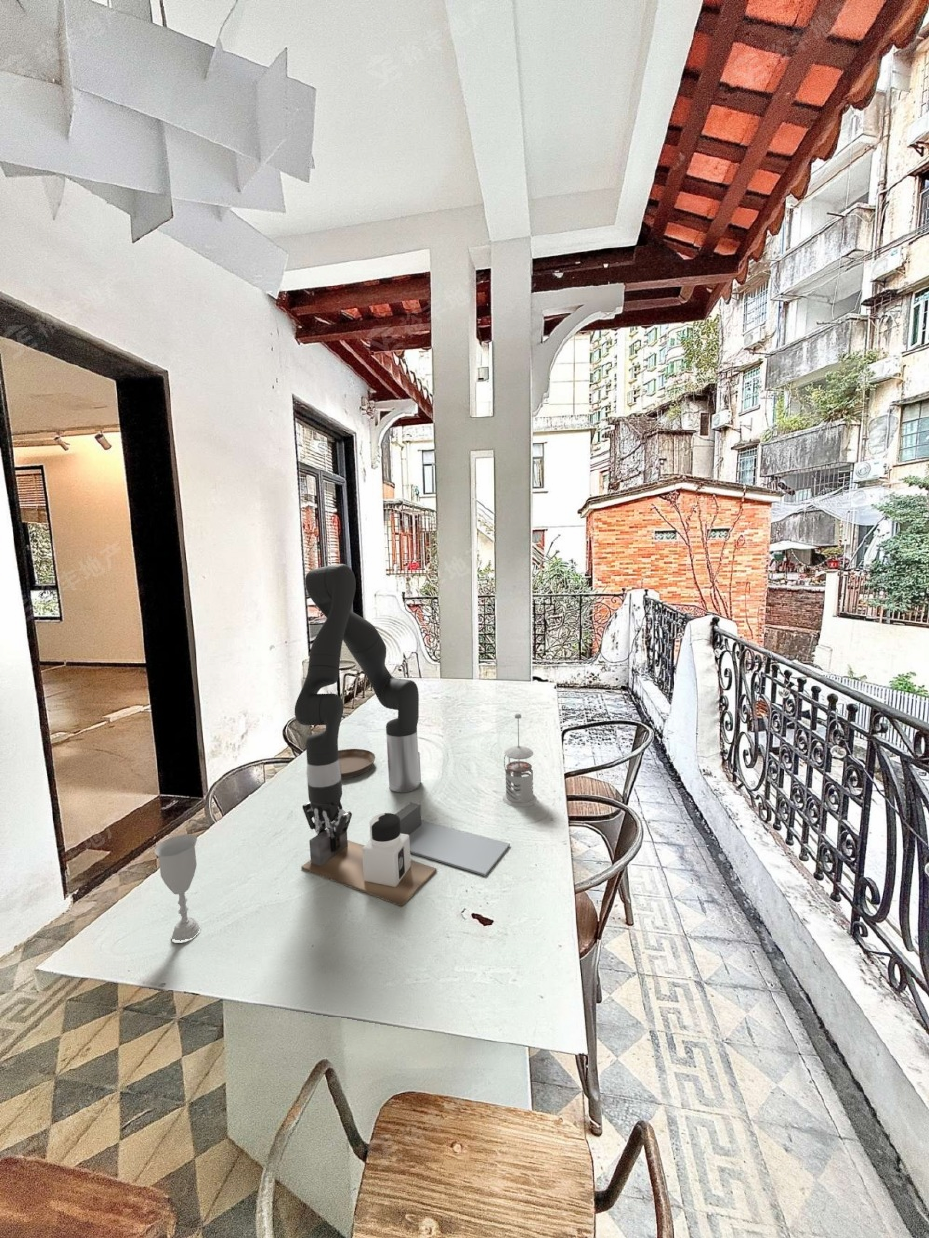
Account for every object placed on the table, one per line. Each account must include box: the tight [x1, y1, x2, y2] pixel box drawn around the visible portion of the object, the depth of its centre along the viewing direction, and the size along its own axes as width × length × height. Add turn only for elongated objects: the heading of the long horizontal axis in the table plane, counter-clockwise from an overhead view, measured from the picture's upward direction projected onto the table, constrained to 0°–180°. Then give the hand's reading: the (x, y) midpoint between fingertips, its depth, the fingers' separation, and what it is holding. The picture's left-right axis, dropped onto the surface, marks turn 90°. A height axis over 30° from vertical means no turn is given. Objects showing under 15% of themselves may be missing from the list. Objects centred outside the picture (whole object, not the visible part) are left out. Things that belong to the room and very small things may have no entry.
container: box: [362, 812, 411, 887], centre depth 111 cm, size 8×8×13 cm
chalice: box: [154, 833, 201, 941], centre depth 96 cm, size 7×7×18 cm
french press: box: [502, 713, 538, 808], centre depth 145 cm, size 10×12×25 cm
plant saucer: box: [338, 748, 376, 780], centre depth 170 cm, size 21×21×3 cm
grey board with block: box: [394, 801, 511, 877], centre depth 123 cm, size 13×28×6 cm, turn 61°
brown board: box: [300, 827, 437, 907], centre depth 115 cm, size 13×28×6 cm, turn 61°
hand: (329, 848), depth 120 cm, fingers closed on brown board, 3 cm apart
